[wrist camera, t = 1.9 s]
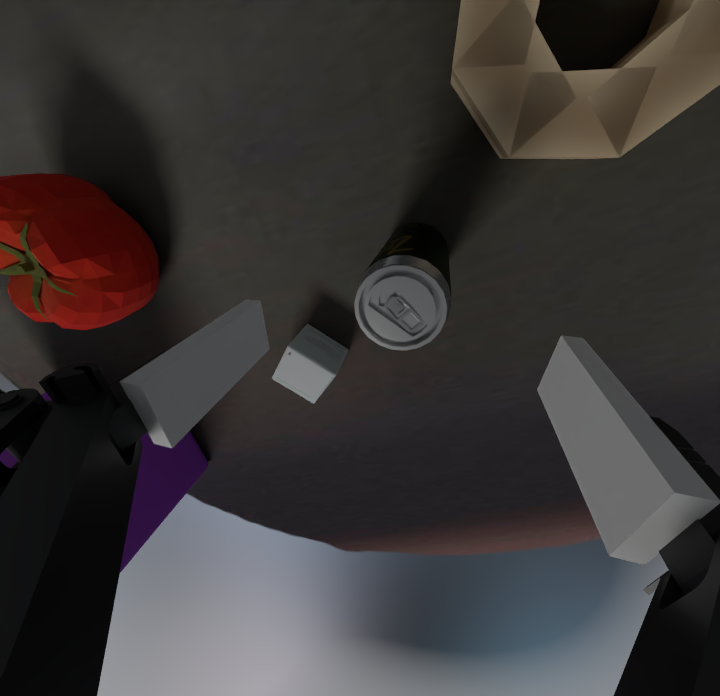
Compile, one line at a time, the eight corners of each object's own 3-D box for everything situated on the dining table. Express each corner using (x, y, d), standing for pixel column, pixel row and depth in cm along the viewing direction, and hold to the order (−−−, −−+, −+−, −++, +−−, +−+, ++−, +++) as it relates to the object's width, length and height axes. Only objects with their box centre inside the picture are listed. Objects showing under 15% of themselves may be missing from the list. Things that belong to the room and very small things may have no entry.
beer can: (461, 254, 24) (475, 314, 14) (414, 295, 27) (398, 369, 17) (417, 206, 23) (399, 235, 13) (373, 254, 26) (331, 308, 16)
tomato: (191, 310, 35) (108, 357, 26) (100, 288, 36) (-6, 326, 28) (160, 182, 27) (29, 190, 18) (47, 162, 29) (-121, 161, 20)
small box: (289, 354, 35) (269, 379, 31) (307, 321, 32) (287, 343, 28) (328, 379, 35) (314, 406, 31) (350, 348, 32) (337, 374, 28)
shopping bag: (152, 367, 43) (-241, 641, 18) (226, 463, 53) (36, 724, 28) (50, 384, 53) (-293, 575, 28) (128, 462, 62) (-75, 653, 38)
